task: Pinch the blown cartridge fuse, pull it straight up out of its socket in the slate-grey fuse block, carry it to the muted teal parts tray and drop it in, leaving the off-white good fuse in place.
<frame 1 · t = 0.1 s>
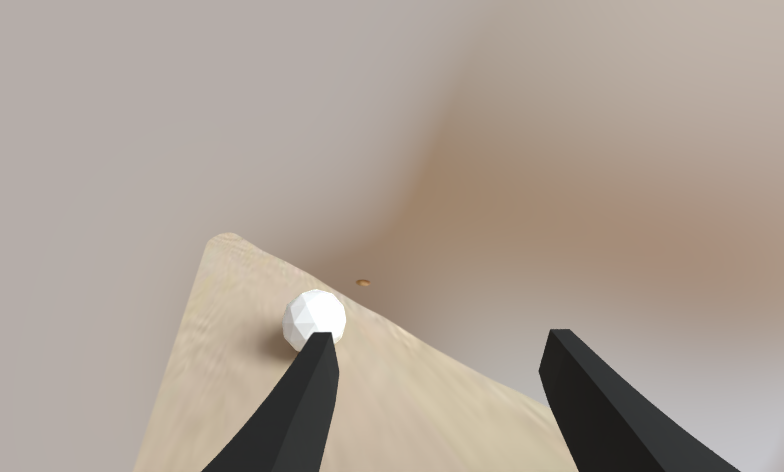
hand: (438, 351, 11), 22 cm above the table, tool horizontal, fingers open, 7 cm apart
geometric ball: (319, 344, 41), on the table
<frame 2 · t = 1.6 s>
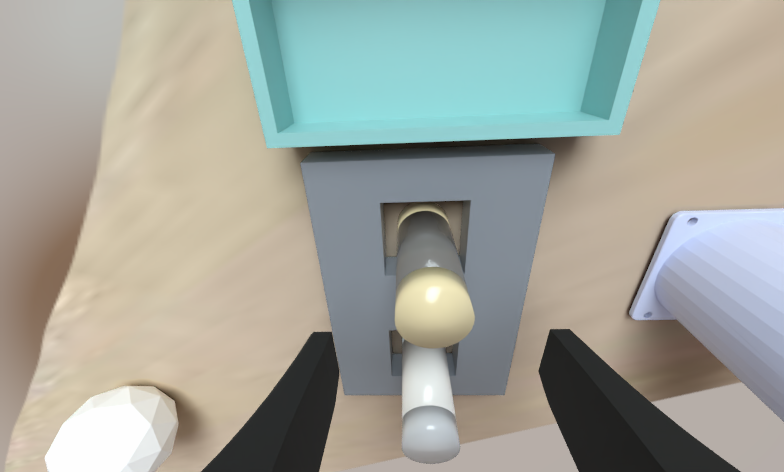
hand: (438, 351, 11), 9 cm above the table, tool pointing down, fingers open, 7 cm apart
good fuse: (422, 331, 23), resting in fuse block
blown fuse: (422, 223, 19), resting in fuse block
parts tray: (434, 35, 14), on the table
fuse block: (422, 283, 21), on the table
geometric ball: (153, 392, 28), on the table
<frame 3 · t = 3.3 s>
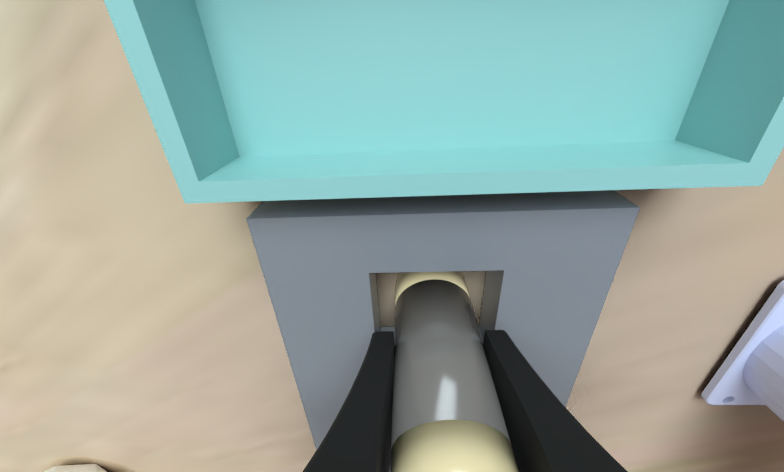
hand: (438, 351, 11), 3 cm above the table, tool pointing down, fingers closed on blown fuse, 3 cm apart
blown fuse: (430, 287, 14), resting in fuse block, touching gripper
parts tray: (453, 22, 9), on the table
fuse block: (428, 358, 16), on the table
geometric ball: (97, 469, 23), on the table
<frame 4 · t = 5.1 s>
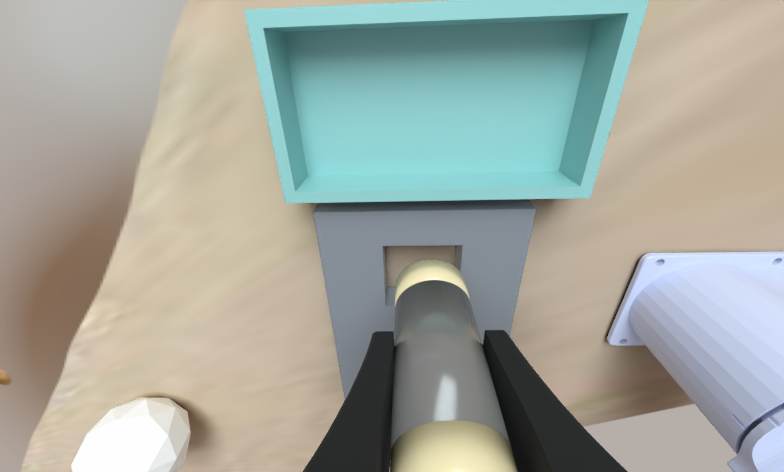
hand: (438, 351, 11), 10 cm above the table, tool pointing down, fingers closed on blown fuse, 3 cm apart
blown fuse: (430, 287, 14), point 7 cm above the table, touching gripper
parts tray: (432, 105, 16), on the table
fuse block: (419, 310, 23), on the table
geometric ball: (167, 403, 30), on the table
when the fingers open (5 cm above the table, at t = 7.0 s): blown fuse drops 1 cm, resting on parts tray.
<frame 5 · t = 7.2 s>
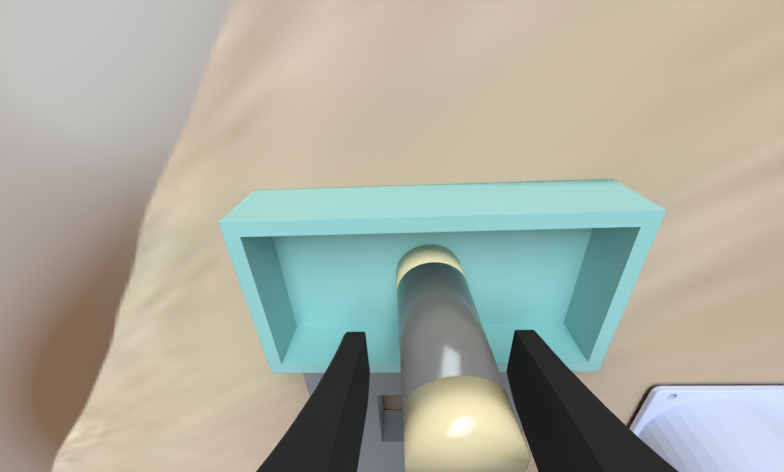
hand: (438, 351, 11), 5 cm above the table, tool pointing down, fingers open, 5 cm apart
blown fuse: (428, 272, 15), point 1 cm above the table, touching parts tray
parts tray: (427, 263, 15), on the table
fuse block: (418, 428, 22), on the table
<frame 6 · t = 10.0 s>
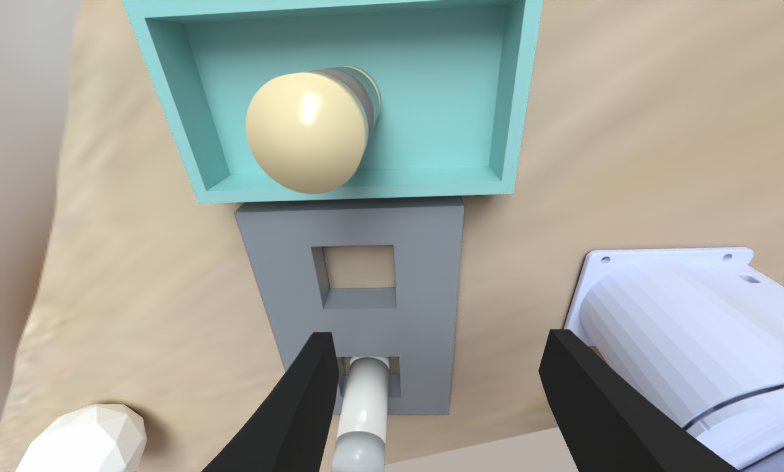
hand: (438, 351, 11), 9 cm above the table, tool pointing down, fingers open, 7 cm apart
good fuse: (370, 355, 25), resting in fuse block
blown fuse: (349, 101, 15), point 1 cm above the table, touching parts tray
parts tray: (351, 99, 16), on the table
fuse block: (365, 312, 22), on the table
geometric ball: (123, 409, 30), on the table
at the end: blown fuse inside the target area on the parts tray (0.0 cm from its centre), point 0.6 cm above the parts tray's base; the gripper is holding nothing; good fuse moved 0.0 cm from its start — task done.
